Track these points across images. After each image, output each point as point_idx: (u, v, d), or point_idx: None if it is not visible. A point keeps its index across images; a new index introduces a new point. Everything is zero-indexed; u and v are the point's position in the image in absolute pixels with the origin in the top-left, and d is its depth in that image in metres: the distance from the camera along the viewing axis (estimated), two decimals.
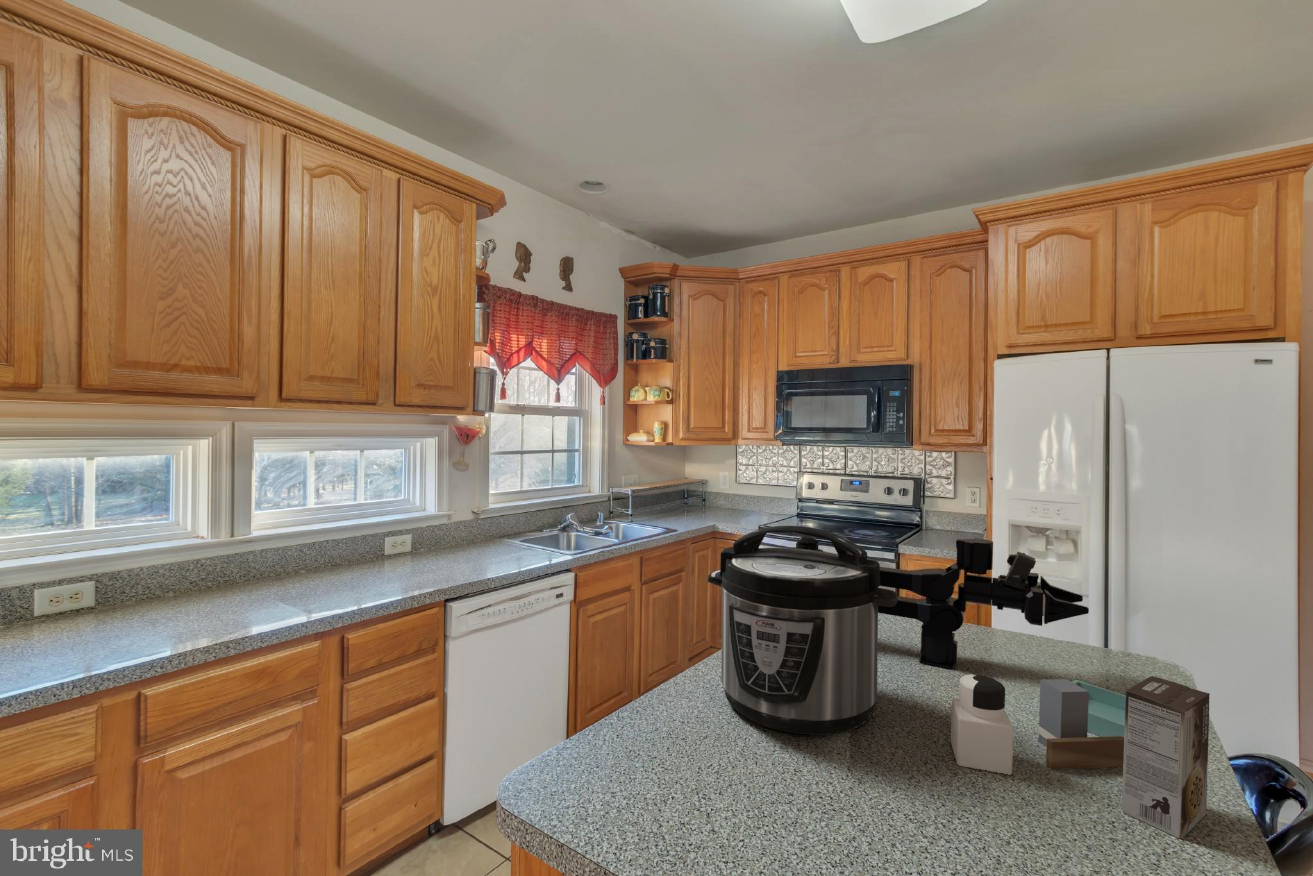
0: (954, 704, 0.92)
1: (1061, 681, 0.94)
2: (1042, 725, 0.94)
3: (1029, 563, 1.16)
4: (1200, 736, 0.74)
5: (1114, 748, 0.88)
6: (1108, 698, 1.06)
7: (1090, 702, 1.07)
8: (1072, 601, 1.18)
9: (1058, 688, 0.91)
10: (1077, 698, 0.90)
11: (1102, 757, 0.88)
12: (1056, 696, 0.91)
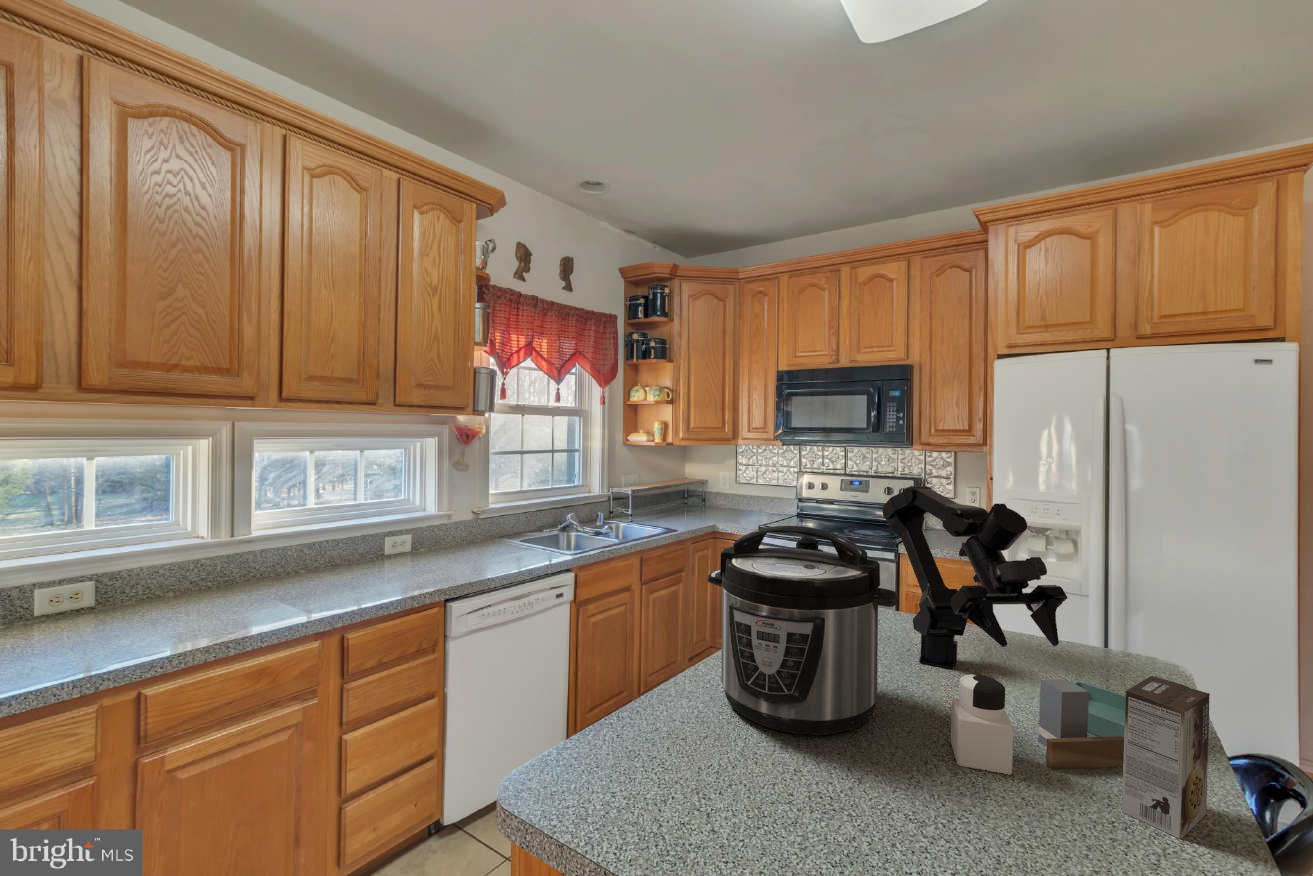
0: (954, 704, 0.92)
1: (1061, 681, 0.94)
2: (1042, 725, 0.94)
3: (1013, 574, 1.01)
4: (1200, 736, 0.74)
5: (1114, 748, 0.88)
6: (1108, 698, 1.06)
7: (1090, 702, 1.07)
8: (1048, 638, 1.02)
9: (1058, 688, 0.91)
10: (1077, 698, 0.90)
11: (1102, 757, 0.88)
12: (1056, 696, 0.91)
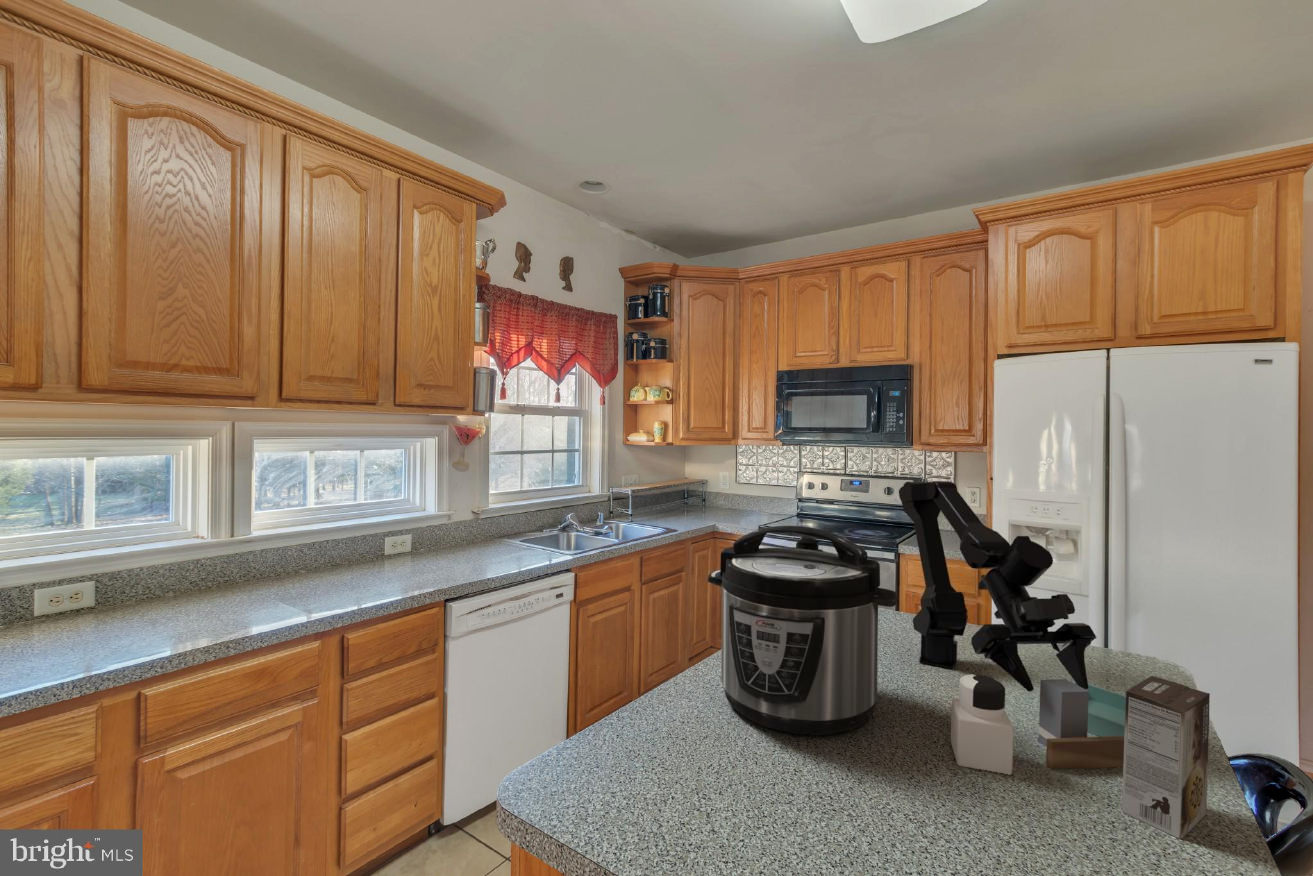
0: (954, 704, 0.92)
1: (1061, 681, 0.94)
2: (1042, 725, 0.94)
3: (1039, 613, 0.95)
4: (1200, 736, 0.74)
5: (1114, 748, 0.88)
6: (1108, 698, 1.06)
7: (1090, 702, 1.07)
8: (1076, 681, 0.95)
9: (1058, 688, 0.91)
10: (1077, 698, 0.90)
11: (1102, 757, 0.88)
12: (1056, 696, 0.91)
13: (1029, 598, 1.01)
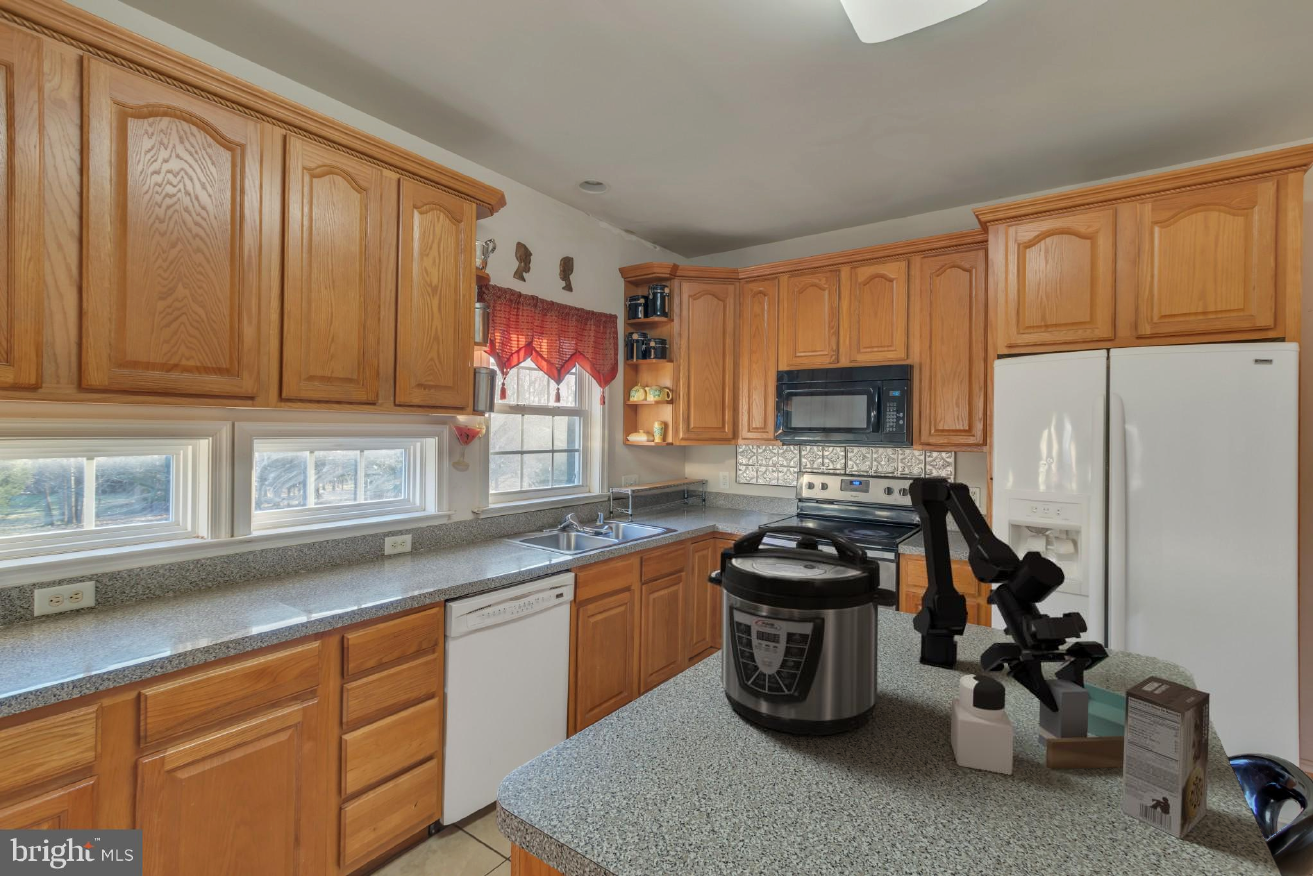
0: (954, 704, 0.92)
1: (1061, 681, 0.94)
2: (1042, 725, 0.94)
3: (1050, 632, 0.92)
4: (1200, 736, 0.74)
5: (1114, 748, 0.88)
6: (1108, 698, 1.06)
7: (1090, 702, 1.07)
8: None
9: (1058, 688, 0.91)
10: (1077, 698, 0.90)
11: (1102, 757, 0.88)
12: (1056, 696, 0.91)
13: (1040, 615, 0.99)
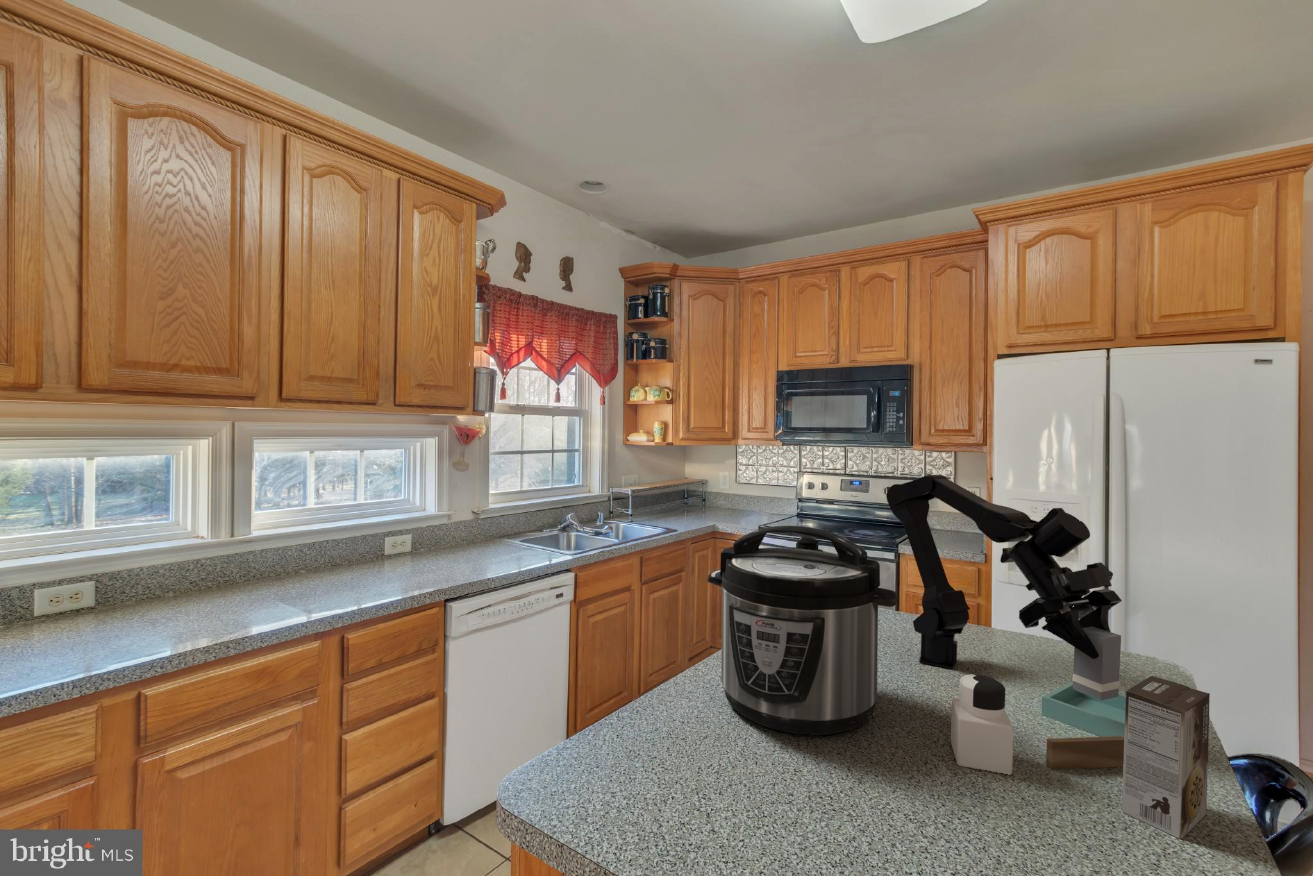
0: (954, 704, 0.92)
1: (1091, 629, 0.99)
2: (1077, 672, 0.98)
3: (1089, 583, 0.96)
4: (1200, 736, 0.74)
5: (1114, 748, 0.88)
6: None
7: (1090, 702, 1.07)
8: None
9: (1097, 635, 0.95)
10: (1113, 643, 0.95)
11: (1102, 757, 0.88)
12: (1096, 643, 0.95)
13: (1062, 568, 1.03)
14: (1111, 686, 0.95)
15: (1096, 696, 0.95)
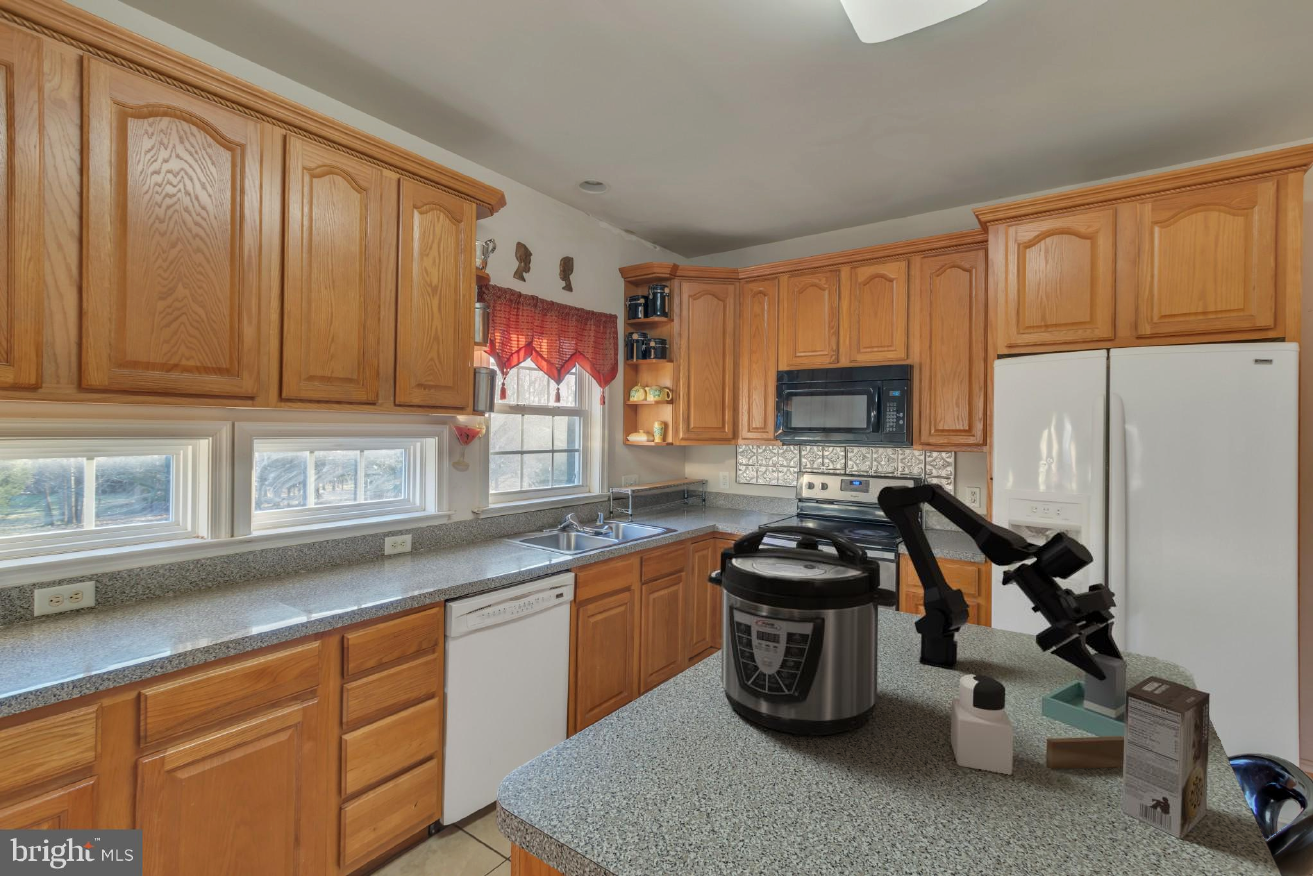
0: (954, 704, 0.92)
1: (1097, 655, 1.03)
2: (1089, 699, 1.02)
3: (1100, 605, 1.00)
4: (1200, 736, 0.74)
5: (1114, 748, 0.88)
6: None
7: None
8: None
9: (1108, 663, 1.00)
10: (1121, 669, 1.00)
11: (1102, 757, 0.88)
12: (1109, 671, 0.99)
13: (1065, 590, 1.08)
14: (1120, 711, 1.00)
15: None
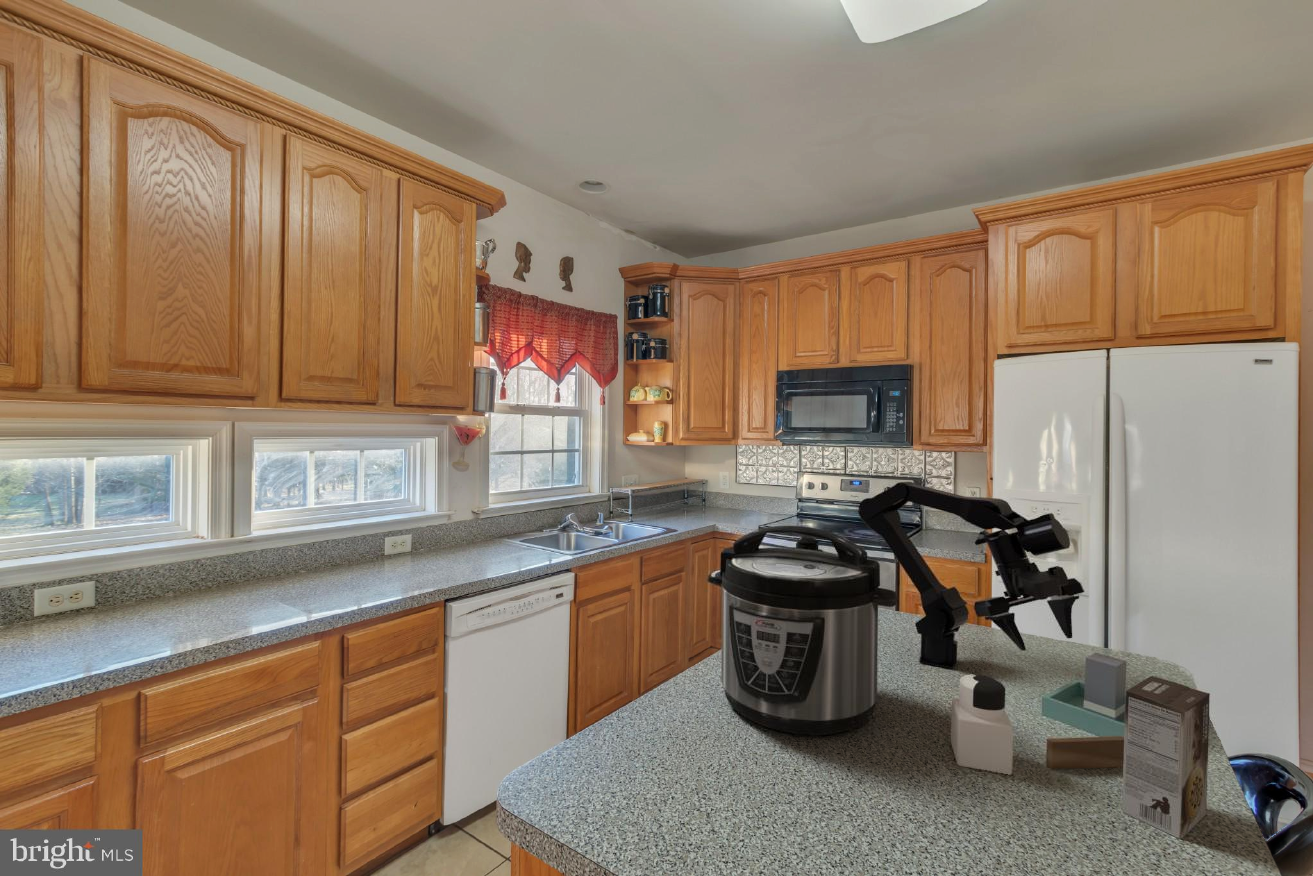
0: (954, 704, 0.92)
1: (1097, 655, 1.03)
2: (1089, 699, 1.02)
3: (1036, 594, 1.06)
4: (1200, 736, 0.74)
5: (1114, 748, 0.88)
6: None
7: None
8: (1062, 629, 1.12)
9: (1108, 663, 1.00)
10: (1121, 669, 1.00)
11: (1102, 757, 0.88)
12: (1109, 671, 0.99)
13: (1028, 565, 1.12)
14: (1120, 711, 1.00)
15: None
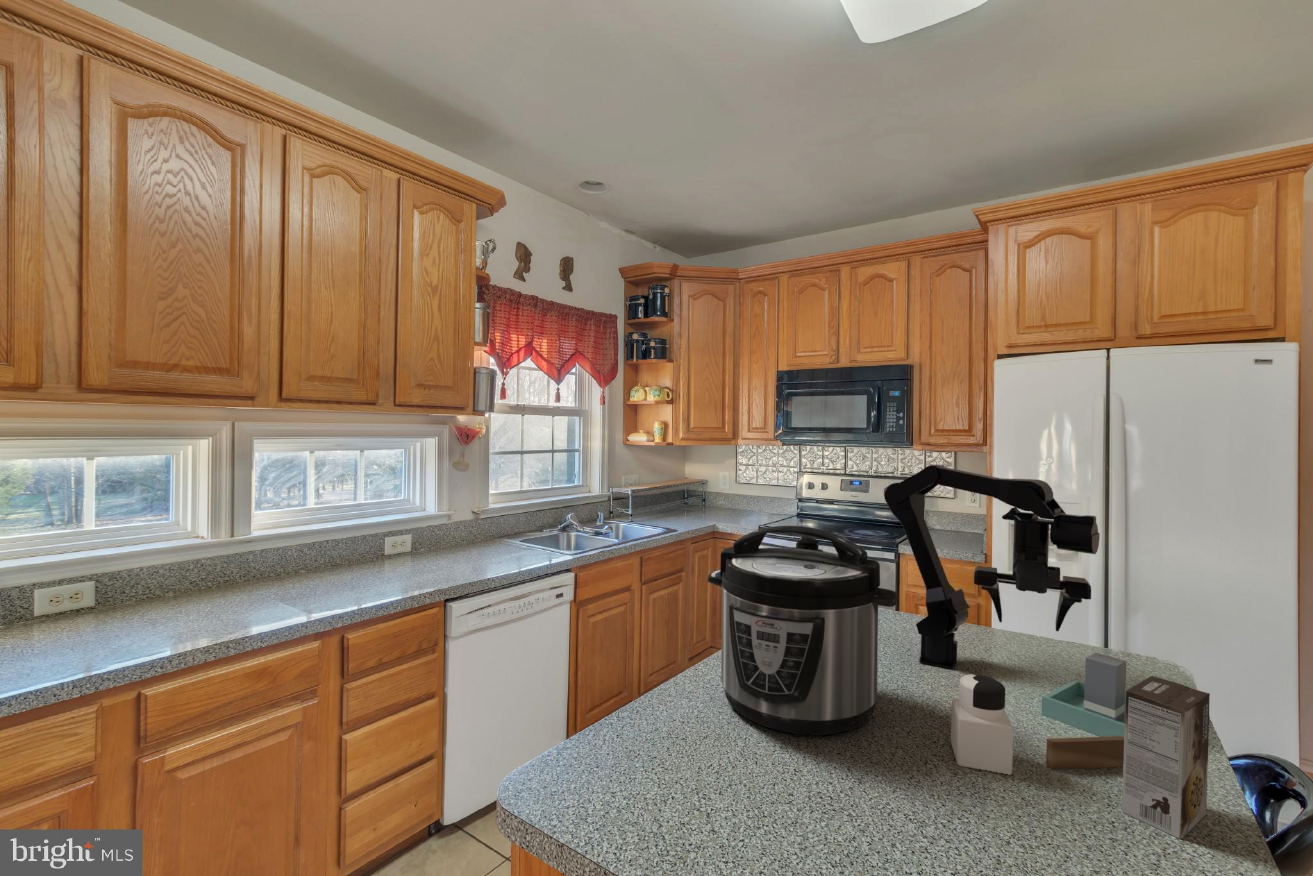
0: (954, 704, 0.92)
1: (1097, 655, 1.03)
2: (1089, 699, 1.02)
3: (1016, 584, 1.09)
4: (1200, 736, 0.74)
5: (1114, 748, 0.88)
6: None
7: None
8: (1056, 620, 1.13)
9: (1108, 663, 1.00)
10: (1121, 669, 1.00)
11: (1102, 757, 0.88)
12: (1109, 671, 0.99)
13: (1037, 555, 1.11)
14: (1120, 711, 1.00)
15: None
